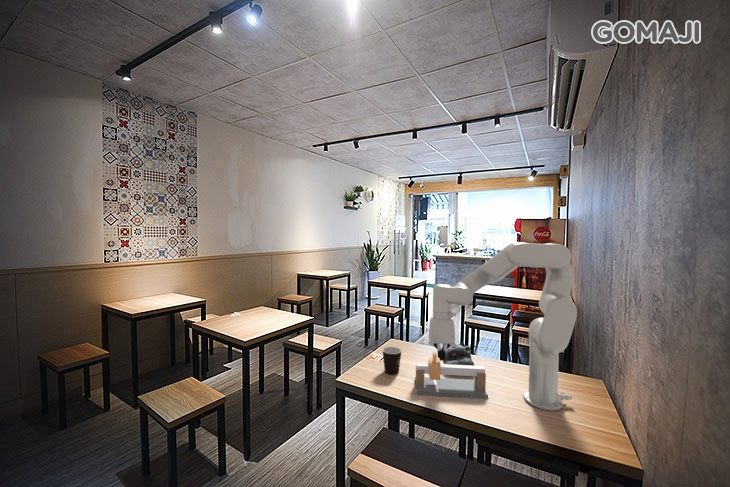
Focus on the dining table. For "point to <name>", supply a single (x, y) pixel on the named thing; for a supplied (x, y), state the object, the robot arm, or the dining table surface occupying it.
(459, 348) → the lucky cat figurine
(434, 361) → the orange stepped block
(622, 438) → the dining table surface
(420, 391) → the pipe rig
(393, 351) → the coffee mug
